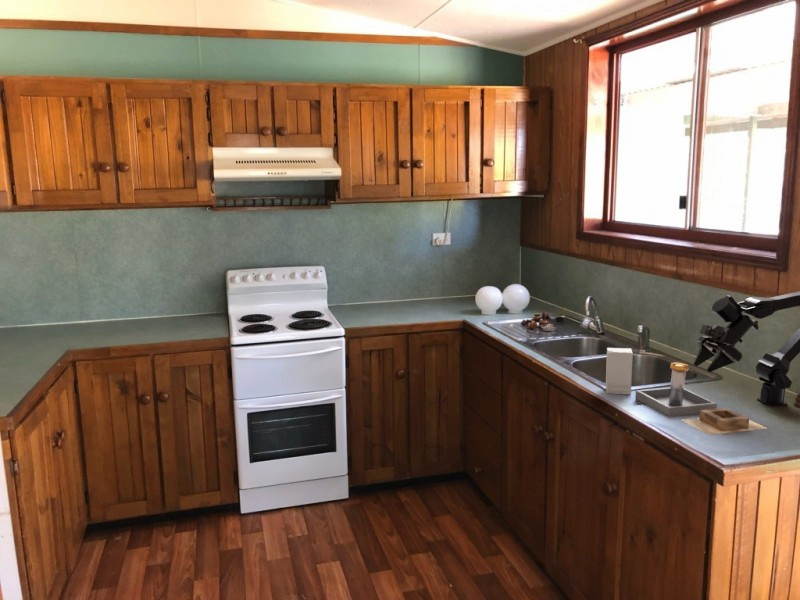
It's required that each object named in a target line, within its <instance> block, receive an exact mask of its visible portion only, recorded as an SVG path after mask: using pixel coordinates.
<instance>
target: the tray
mask: <svg viewBox="0 0 800 600" xmlns="http://www.w3.org/2000/svg"><path fill="white" fill-rule="evenodd" d="M669 395H670V387H658V388H650V389H649V388H648V389H639V390H635V398H634V399H635V400H634V401H635V402H637V403H638V402H639V403H638V404H640V403H641V404H640V405H642V404H643V406H647V405H648V406H649V407H651V408H653V409H655V410H656V411H658V412H660V413H662V414H664V415H665V416H668V417H673V416H674V417H675V416H684V415H693V414H700V410H708V409H717V408H718V403H717V402H716V401H712V400H711V399H708V398H706V397H704V396H702V395H699V394H697V393H695V392H693V391H692V390H689V389H687V388H685V387H684V393H683V402H682V406H672V405H670V404H669Z"/></svg>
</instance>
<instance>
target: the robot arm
mask: <svg viewBox="0 0 800 600" xmlns="http://www.w3.org/2000/svg"><path fill="white" fill-rule="evenodd" d="M795 307H796V308H797V307H800V290H799V291H795V292H791V293H790V292H789V293H785V294H781V295H776V296H771V297H762V296H754V297H747V298H745V299H744V301H739V302H737V301H736V300H735V299H734V297H733V296H731V295H726V296H724V297H722V298H720V299H718V300H716V301H715V302H714V303H713V304H712V307H711V310H712V312H713V313H714V314H716V315H717V316H718V317H719V318H720V319H721V320H722V321H723V322H724V323H727V324H726V326H725V327H724V326H720V325H718V324H714V325H713V326H712V325H708V324H705V323H702V326H701V328H700V330H699V334H701V336H699V338H698V339H697V344H698V347H699V350H698V353H697V355H696V358H695V359H694V362H693V365H694V367H698V366H699V365H702V364H703V363H705V362H706V361H708V360H710V359H711V358H713V357H714V356H715V357H714V359H713V360H712V361H711V362H710V364H709V365H708V367H707V369H706V371H707V372H708V373H711V372H714V371H716V370H719V369H722V368H724V367H726V366H729V365H731V364H736V363H739V362H740V361H741V360H742V359H743V353H742V352H741V351H739V349H737V348H736V347H735V346H736V345H737V344H738V343H739V344H741V343H742V342H744V341H743V337H745V335H746V334H747V333H748V332H749V330H750V329H753V330H756V331H759V324H758V323H759V321H758V320H759V319H765V318H768V317H771V316H772V315H773V314H774V313H775V312H778V311H782V310H787V309H790V308H795ZM743 313H744V314H743ZM751 317H753V318H756V319H758V320H756V319H752V318H751ZM715 354H716V355H715ZM799 354H800V327H799V328H798V329H797V330H796V332H794V333H793V334H792V335H791V337H790V338H789V339H788V340H787V341H786V342H785V343H784V344H783V345H782V346H781V347H780V348H779V349H778V350H777V351H776V352H775V353H772V354H771V353H769V352H766V353H765V354H764V355H763V356H762V357H761V358H760V359H758V360H757V362H758V363H756V366H755V373H756V375H757V377H758V380H759V381H760V382H762V385H761V386H762V387H761V389H760V397H757V398H756V400H757V401H759V402H761V403H764V404H765V405H768V406H770V407H775V406H785V405H788V402H786V401H785V397H786V396H785V394H786V389H790V388H791V385H792V384H793V381H792V380H791V379H790V378H789V376H787V375H788V373H789V371H790V365H791V363H792V361H793V360H795V358H796V357H797V356H798V355H799Z"/></svg>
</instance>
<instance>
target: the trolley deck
mask: <svg viewBox="0 0 800 600" xmlns="http://www.w3.org/2000/svg"><path fill="white" fill-rule="evenodd" d="M681 421H682V422H684V423H685V424H687V425H689V426H691V427H693V428H695V429H697V430H698V431H700V432H702V433H704V434H706V435H708V436H713V435H723V434H727V433H728V434H730V433H738V432H739V433H741V432H749V431H758V430H765V429H768V428H767V427H765V426H764V425H761V424H759V423H757V422H755V421H753V420H751V419H750V418H749V417H747V416H745V415H743V414H741V413H738V412H736V411H734V410H732V409H730V408H729V407H721V408H719V407H717V408H716V409H708V410H700V413H699V417H696V418H695V417H694V418H683V419H681Z"/></svg>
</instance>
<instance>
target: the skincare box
mask: <svg viewBox="0 0 800 600" xmlns="http://www.w3.org/2000/svg"><path fill="white" fill-rule="evenodd" d="M633 357H634V353H633V350H632V348H631V347H630V348H628V347H627V348H626V347H625V348H624V347H606V363H605V364H606V367H605V368H606V369H605V391H606V394H616V395H617V394H618V395H631V394H632V378H633V377H632V376H633V359H634V358H633Z"/></svg>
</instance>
